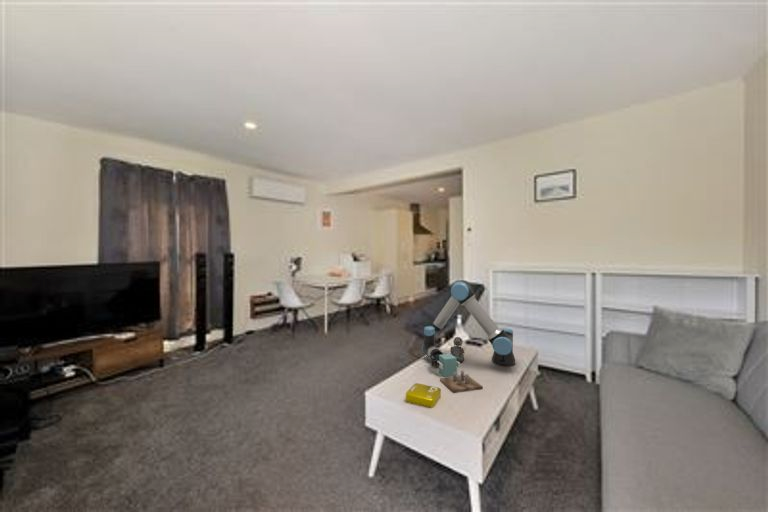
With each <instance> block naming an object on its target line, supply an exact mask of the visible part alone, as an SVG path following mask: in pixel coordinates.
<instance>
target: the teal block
mask: <svg viewBox="0 0 768 512" xmlns="http://www.w3.org/2000/svg"><path fill="white" fill-rule="evenodd" d="M442 354H443V355H439V362H440V363H442V364H443V369H441V368H440V367H439V366H438V374H440V375H442V377H443V378H447V377H453V372H456V376H457V374H458V372H457V371H458V367H457V358H456V357H455V356H453V355H452V354H450V353H447V354H444V353H442Z"/></svg>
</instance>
